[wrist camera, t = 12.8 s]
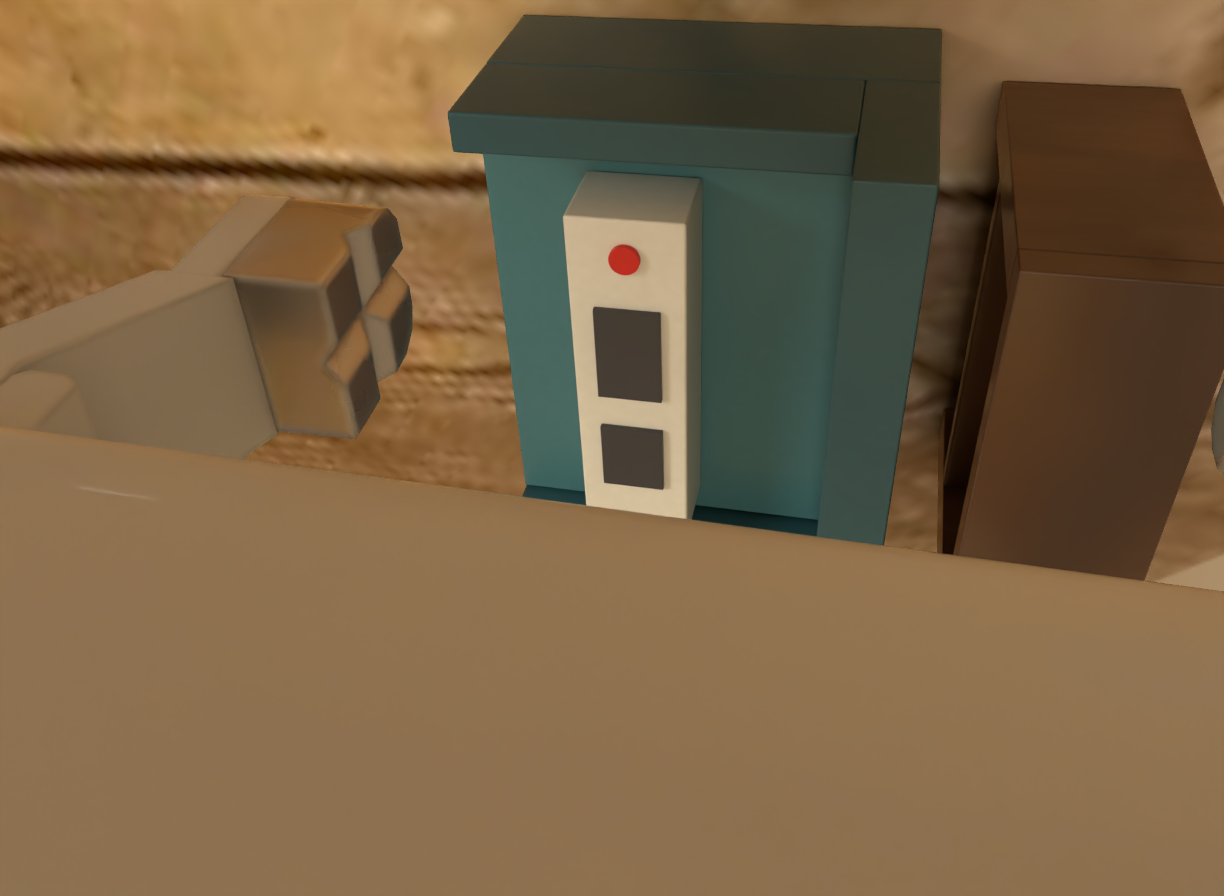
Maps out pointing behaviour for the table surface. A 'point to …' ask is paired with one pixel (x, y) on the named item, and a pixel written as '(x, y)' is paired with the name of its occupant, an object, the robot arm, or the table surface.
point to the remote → (637, 338)
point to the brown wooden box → (1086, 333)
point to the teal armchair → (729, 240)
